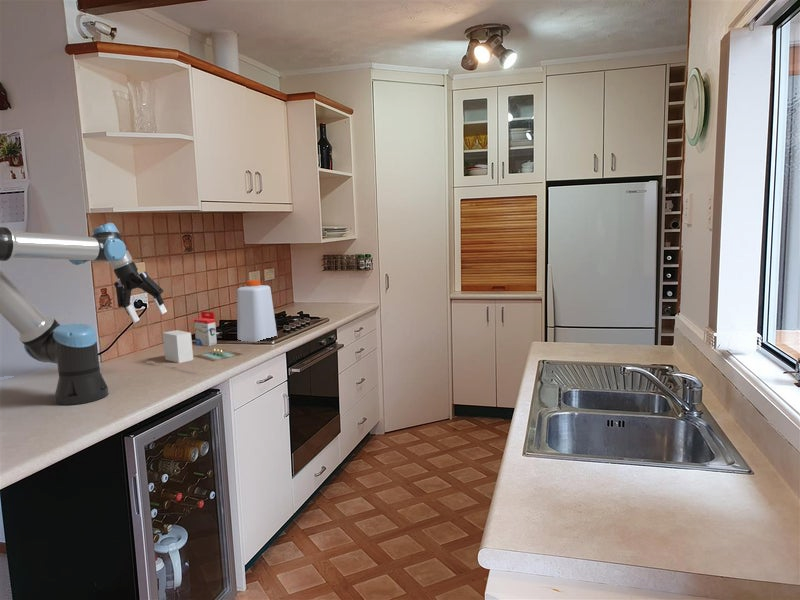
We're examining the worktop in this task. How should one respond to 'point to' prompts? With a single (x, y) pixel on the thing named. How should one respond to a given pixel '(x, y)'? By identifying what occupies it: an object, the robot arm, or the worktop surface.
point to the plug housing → (178, 346)
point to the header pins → (217, 352)
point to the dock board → (216, 357)
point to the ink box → (205, 329)
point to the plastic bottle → (255, 312)
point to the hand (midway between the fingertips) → (150, 317)
